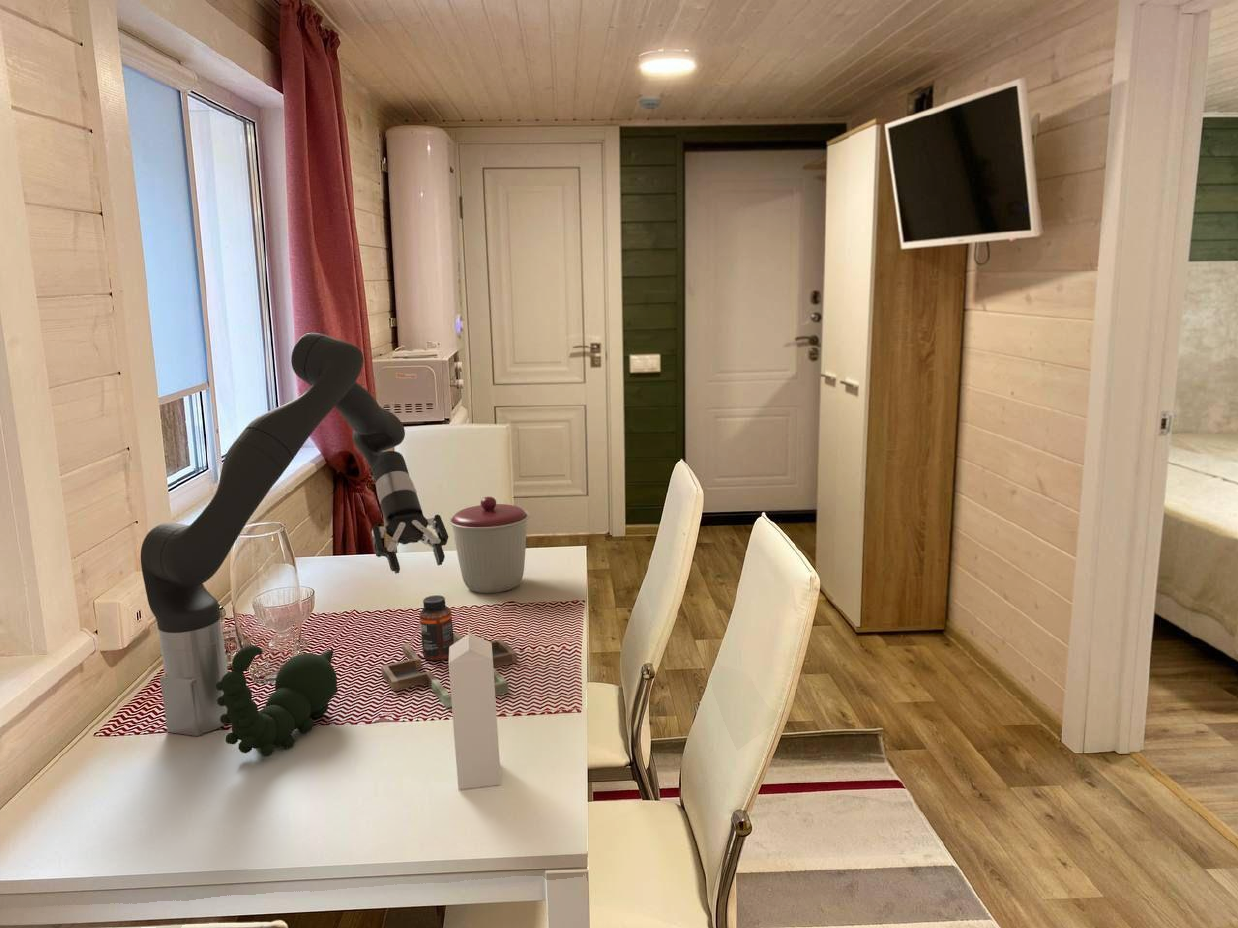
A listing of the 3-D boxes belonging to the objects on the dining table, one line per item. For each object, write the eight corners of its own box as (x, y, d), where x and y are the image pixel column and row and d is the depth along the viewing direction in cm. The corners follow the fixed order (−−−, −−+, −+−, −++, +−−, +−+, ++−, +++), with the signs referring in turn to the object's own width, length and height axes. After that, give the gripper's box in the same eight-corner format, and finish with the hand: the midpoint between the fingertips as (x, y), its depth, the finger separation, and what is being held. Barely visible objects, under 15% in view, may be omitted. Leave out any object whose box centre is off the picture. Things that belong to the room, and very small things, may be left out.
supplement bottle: (458, 649, 179) (454, 593, 177) (450, 662, 173) (445, 604, 171) (428, 649, 179) (423, 593, 177) (418, 661, 174) (413, 604, 171)
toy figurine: (270, 785, 136) (363, 696, 159) (247, 669, 131) (347, 594, 153) (217, 777, 139) (316, 690, 162) (192, 663, 133) (298, 590, 156)
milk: (499, 764, 136) (491, 621, 132) (501, 785, 131) (492, 636, 126) (457, 768, 136) (447, 624, 131) (457, 790, 130) (446, 640, 125)
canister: (543, 591, 209) (538, 500, 205) (463, 604, 203) (456, 511, 199) (521, 569, 226) (516, 484, 221) (446, 580, 219) (440, 493, 215)
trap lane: (371, 659, 175) (370, 650, 175) (487, 634, 186) (486, 625, 185) (410, 716, 152) (409, 706, 152) (541, 683, 162) (540, 674, 162)
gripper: (429, 503, 196) (451, 570, 188) (361, 514, 189) (380, 583, 181) (435, 483, 190) (457, 551, 182) (364, 493, 183) (385, 564, 176)
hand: (419, 567), depth 182 cm, fingers open, 8 cm apart
